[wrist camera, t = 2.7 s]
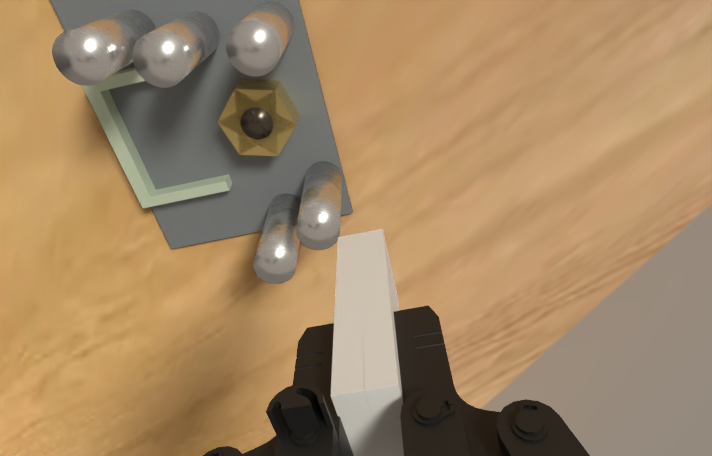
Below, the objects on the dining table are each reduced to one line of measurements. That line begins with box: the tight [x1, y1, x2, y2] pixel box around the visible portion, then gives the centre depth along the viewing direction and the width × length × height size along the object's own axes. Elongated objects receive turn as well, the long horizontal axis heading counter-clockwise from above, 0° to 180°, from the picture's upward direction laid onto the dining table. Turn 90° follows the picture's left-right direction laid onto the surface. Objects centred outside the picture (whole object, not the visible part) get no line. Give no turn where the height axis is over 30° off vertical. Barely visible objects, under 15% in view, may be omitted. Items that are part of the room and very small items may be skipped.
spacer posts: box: [52, 1, 342, 284], centre depth 33 cm, size 12×18×8 cm
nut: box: [218, 79, 300, 156], centre depth 35 cm, size 5×5×3 cm
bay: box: [82, 68, 233, 208], centre depth 37 cm, size 7×10×1 cm
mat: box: [50, 0, 353, 249], centre depth 37 cm, size 16×20×1 cm
